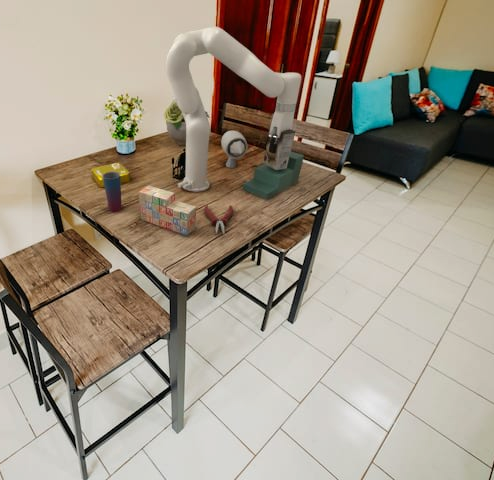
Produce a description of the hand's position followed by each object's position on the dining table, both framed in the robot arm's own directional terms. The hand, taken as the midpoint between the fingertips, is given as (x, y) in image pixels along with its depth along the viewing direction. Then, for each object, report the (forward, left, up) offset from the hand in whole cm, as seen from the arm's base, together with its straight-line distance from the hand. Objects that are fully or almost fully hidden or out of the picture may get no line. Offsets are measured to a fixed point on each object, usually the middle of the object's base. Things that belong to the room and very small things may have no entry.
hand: (277, 149), depth 144 cm
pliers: (-42, -2, -17) cm, 45 cm away
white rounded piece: (+2, +26, -17) cm, 31 cm away
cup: (-65, +32, -17) cm, 74 cm away
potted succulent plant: (+10, +68, -17) cm, 70 cm away
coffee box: (0, 0, -7) cm, 7 cm away
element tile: (-50, +57, -17) cm, 77 cm away
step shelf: (-1, 0, -17) cm, 17 cm away
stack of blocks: (-57, +9, -17) cm, 60 cm away
